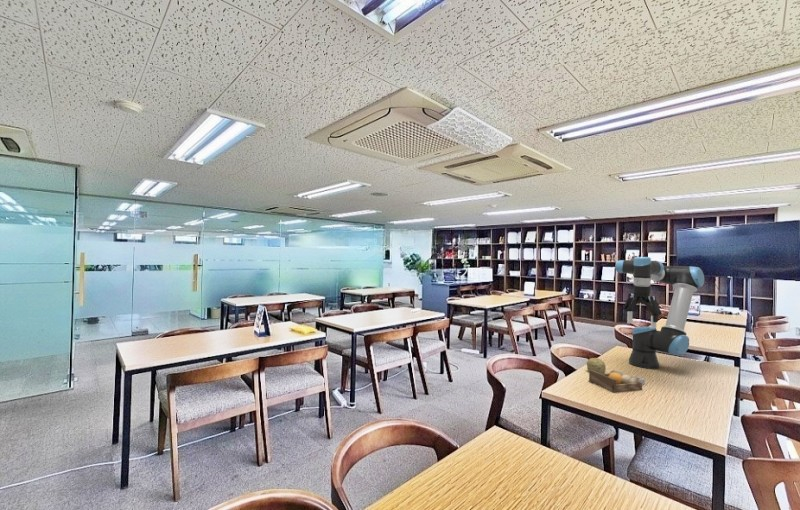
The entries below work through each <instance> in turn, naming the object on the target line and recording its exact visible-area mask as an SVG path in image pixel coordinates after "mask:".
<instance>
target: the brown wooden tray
mask: <svg viewBox="0 0 800 510" xmlns="http://www.w3.org/2000/svg"><path fill="white" fill-rule="evenodd" d="M588 373H589V374H588V377H589V378H588V382H589V381H590V383H591V382H593V383H592V384H594V383H595V384H594V385H596V386H598V385H599V386H598V387H600V386H602V387H601V388H603V387H604V388H605V389H604V388H603V389H604V390H607V391H609V390H611V391H613V392H612V393H613V394H614V393H616V394H617V393H624V392H625V393H627V392H635V391H643V384H642V383H641V382H640V380H639V379H637V378H634V377H635V376H631V375H629V374H626V373H624V372H621V371H618V370H616V369H612V370H611V371H610V372H609V373H604V374H600V373H598V372H595V371H593V370H589V371H588ZM611 373H618V374H620V375H621V377H622V383H623V384H617V385H616V380H615V379H612V378H610V377H609V375H610V374H611ZM608 389H609V390H608ZM631 390H632V391H631ZM634 390H635V391H634ZM611 391H610V392H611ZM620 391H621V392H620ZM623 391H624V392H623Z"/></svg>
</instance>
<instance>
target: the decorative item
mask: <svg viewBox="0 0 800 510" xmlns="http://www.w3.org/2000/svg"><path fill="white" fill-rule="evenodd" d="M586 367H587V371H588V372H589V370H593V371H595V372H598V373H600V374H606V370H607V368H606V363H605V362H604V361H603V360H602V359H600V358H599V357H591V358H589V359H587V361H586Z"/></svg>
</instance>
